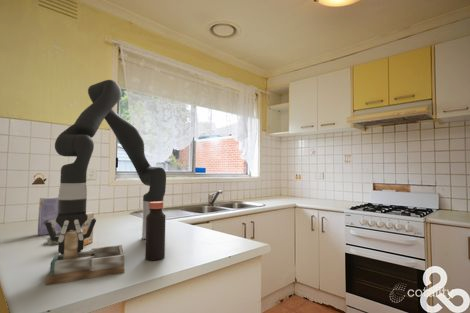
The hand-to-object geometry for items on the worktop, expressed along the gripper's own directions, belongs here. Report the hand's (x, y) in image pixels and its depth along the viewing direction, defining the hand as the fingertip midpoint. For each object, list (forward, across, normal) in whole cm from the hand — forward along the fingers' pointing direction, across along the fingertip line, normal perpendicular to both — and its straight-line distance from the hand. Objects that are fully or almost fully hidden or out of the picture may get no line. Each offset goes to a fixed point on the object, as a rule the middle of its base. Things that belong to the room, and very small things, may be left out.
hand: (70, 252), depth 82 cm
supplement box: (+6, -1, -32) cm, 33 cm away
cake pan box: (+6, +10, -64) cm, 65 cm away
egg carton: (+6, +8, -43) cm, 44 cm away
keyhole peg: (+4, 0, 0) cm, 4 cm away
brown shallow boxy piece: (+6, -5, 0) cm, 8 cm away
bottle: (+6, -26, -2) cm, 27 cm away
